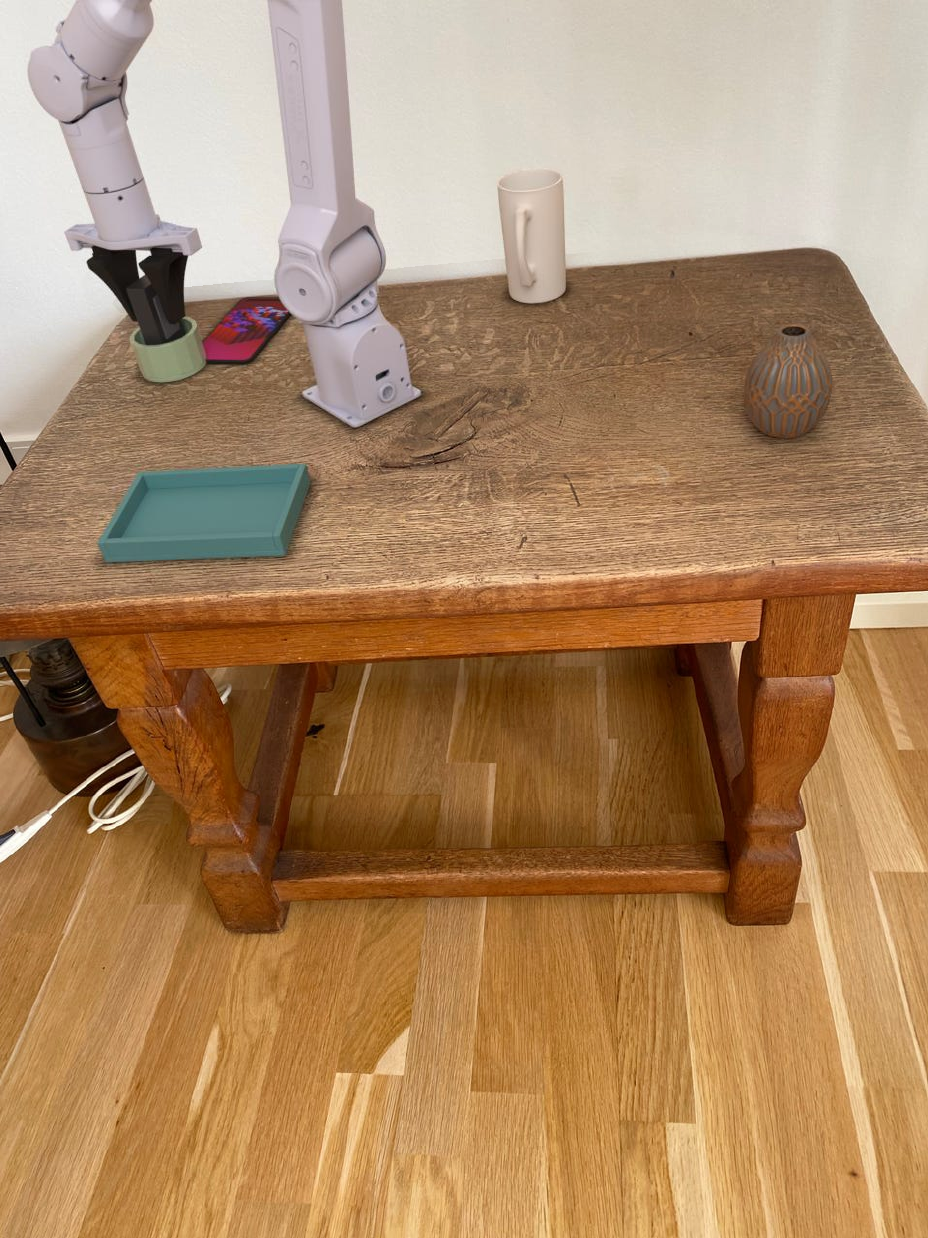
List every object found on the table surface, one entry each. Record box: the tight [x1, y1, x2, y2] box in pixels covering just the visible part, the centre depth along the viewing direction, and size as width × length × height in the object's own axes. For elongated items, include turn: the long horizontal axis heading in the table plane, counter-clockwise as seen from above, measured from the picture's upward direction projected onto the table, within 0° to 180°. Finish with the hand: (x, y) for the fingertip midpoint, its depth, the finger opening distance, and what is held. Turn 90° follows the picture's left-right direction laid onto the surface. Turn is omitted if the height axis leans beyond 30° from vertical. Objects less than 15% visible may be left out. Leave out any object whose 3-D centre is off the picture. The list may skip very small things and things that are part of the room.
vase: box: [743, 323, 833, 439], centre depth 83 cm, size 7×7×9 cm
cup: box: [129, 316, 207, 383], centre depth 106 cm, size 7×7×4 cm
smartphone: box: [202, 296, 293, 366], centre depth 112 cm, size 8×1×15 cm
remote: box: [126, 274, 186, 345], centre depth 104 cm, size 2×4×9 cm, turn 159°
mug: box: [496, 167, 567, 304], centre depth 106 cm, size 10×7×12 cm, turn 165°
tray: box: [96, 462, 312, 563], centre depth 84 cm, size 15×10×2 cm
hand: (159, 318), depth 104 cm, fingers open, 4 cm apart
